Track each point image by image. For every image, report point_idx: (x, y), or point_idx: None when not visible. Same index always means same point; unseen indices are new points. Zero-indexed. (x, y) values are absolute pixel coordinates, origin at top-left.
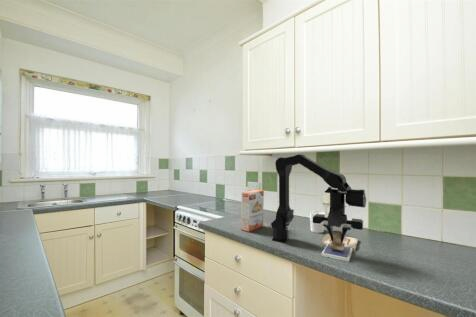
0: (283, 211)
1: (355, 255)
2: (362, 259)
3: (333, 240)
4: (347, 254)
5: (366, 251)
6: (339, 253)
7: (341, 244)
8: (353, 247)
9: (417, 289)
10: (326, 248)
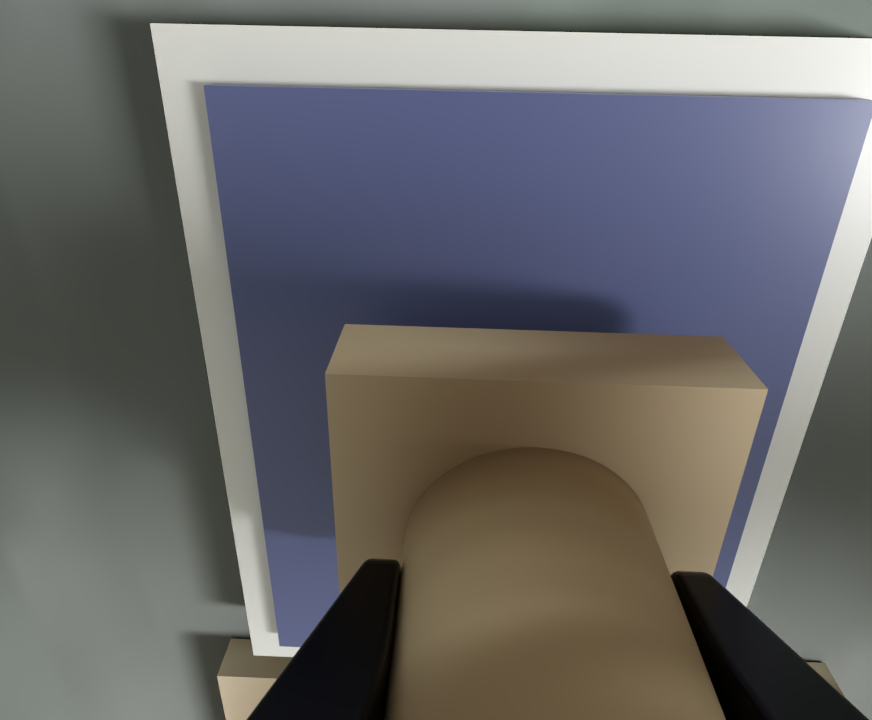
0: None
1: (172, 461)
2: (5, 337)
3: (667, 575)
4: (239, 269)
5: (79, 679)
6: (431, 228)
7: (400, 545)
8: (252, 700)
9: None
10: (771, 402)
